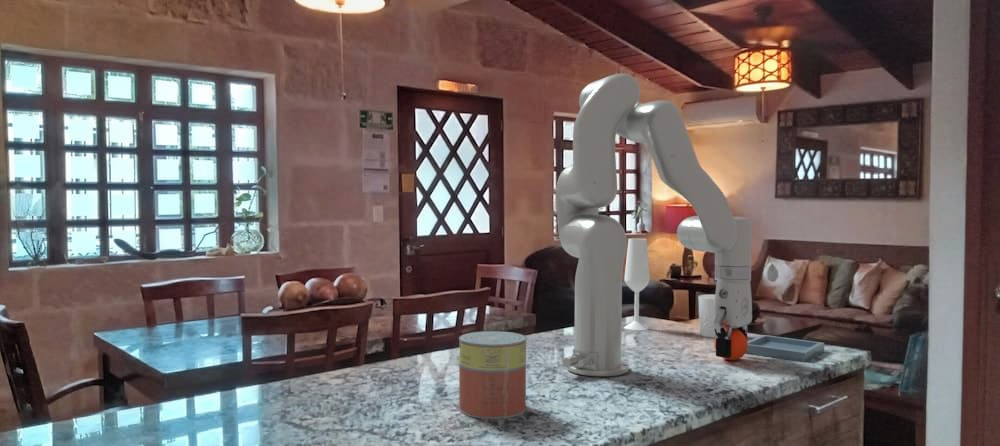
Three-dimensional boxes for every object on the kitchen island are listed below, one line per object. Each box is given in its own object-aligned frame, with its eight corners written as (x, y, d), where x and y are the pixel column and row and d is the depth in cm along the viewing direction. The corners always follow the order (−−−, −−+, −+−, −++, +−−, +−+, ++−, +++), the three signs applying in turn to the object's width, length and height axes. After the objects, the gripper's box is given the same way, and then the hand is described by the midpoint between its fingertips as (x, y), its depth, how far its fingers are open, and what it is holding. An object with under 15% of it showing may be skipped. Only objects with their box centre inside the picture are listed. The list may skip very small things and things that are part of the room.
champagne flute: (625, 324, 196) (626, 237, 196) (650, 326, 194) (651, 238, 193) (622, 329, 190) (623, 239, 189) (647, 330, 188) (648, 239, 187)
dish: (804, 362, 153) (804, 353, 153) (740, 352, 163) (740, 343, 162) (824, 351, 164) (824, 342, 164) (763, 343, 173) (763, 334, 173)
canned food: (485, 395, 127) (485, 328, 127) (538, 406, 121) (539, 336, 120) (444, 410, 118) (445, 338, 118) (500, 423, 112) (501, 347, 111)
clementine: (719, 354, 161) (720, 322, 161) (751, 357, 157) (752, 325, 157) (710, 361, 154) (710, 328, 154) (743, 365, 151) (744, 331, 150)
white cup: (726, 332, 186) (726, 294, 185) (733, 339, 178) (733, 299, 178) (695, 332, 187) (695, 294, 186) (700, 338, 179) (701, 298, 178)
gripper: (733, 278, 146) (732, 363, 147) (764, 271, 159) (763, 349, 160) (699, 275, 151) (697, 358, 152) (731, 269, 164) (730, 344, 165)
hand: (731, 353), depth 156 cm, fingers closed on clementine, 8 cm apart
